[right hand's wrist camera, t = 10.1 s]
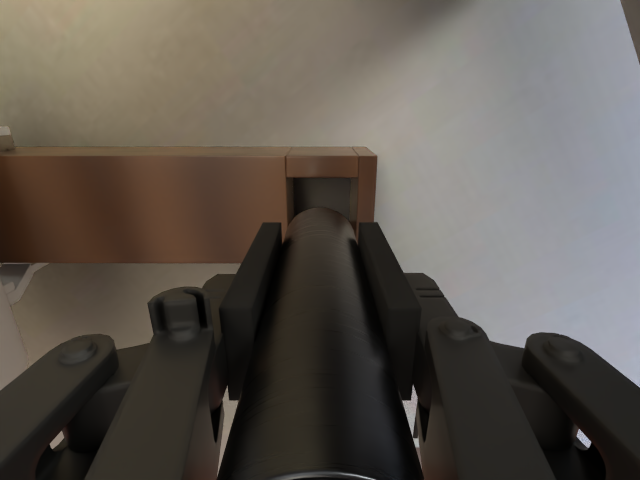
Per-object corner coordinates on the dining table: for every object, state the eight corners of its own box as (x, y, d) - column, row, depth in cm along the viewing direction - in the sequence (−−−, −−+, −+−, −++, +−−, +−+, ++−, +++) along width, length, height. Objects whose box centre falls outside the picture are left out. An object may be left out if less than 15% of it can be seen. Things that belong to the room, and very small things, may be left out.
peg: (283, 206, 15) (182, 475, 4) (356, 206, 15) (459, 475, 4) (286, 272, 16) (212, 626, 5) (353, 272, 16) (428, 626, 5)
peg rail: (12, 235, 26) (-57, 263, 21) (-17, 146, 23) (-102, 155, 19) (362, 235, 26) (371, 263, 21) (366, 146, 23) (377, 155, 19)
